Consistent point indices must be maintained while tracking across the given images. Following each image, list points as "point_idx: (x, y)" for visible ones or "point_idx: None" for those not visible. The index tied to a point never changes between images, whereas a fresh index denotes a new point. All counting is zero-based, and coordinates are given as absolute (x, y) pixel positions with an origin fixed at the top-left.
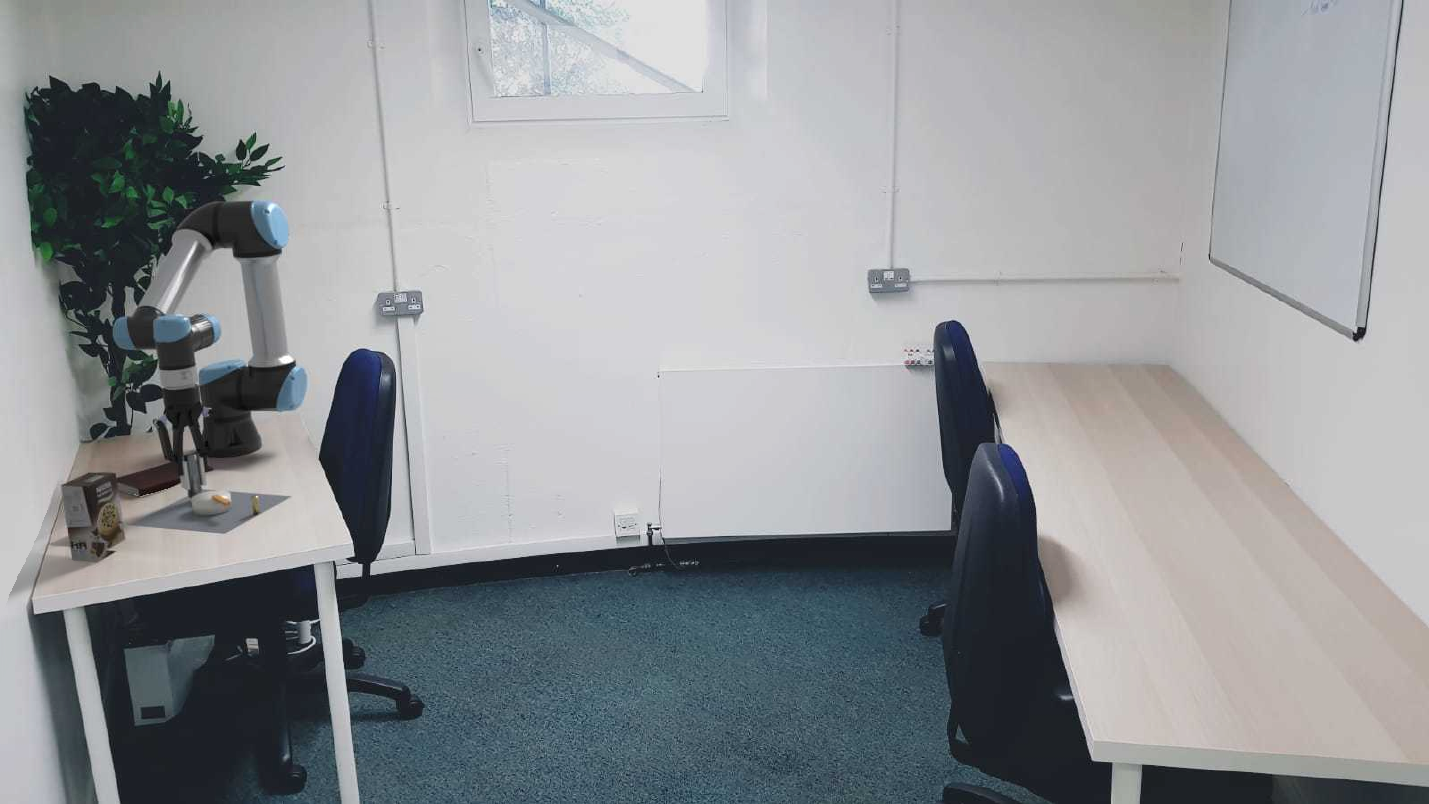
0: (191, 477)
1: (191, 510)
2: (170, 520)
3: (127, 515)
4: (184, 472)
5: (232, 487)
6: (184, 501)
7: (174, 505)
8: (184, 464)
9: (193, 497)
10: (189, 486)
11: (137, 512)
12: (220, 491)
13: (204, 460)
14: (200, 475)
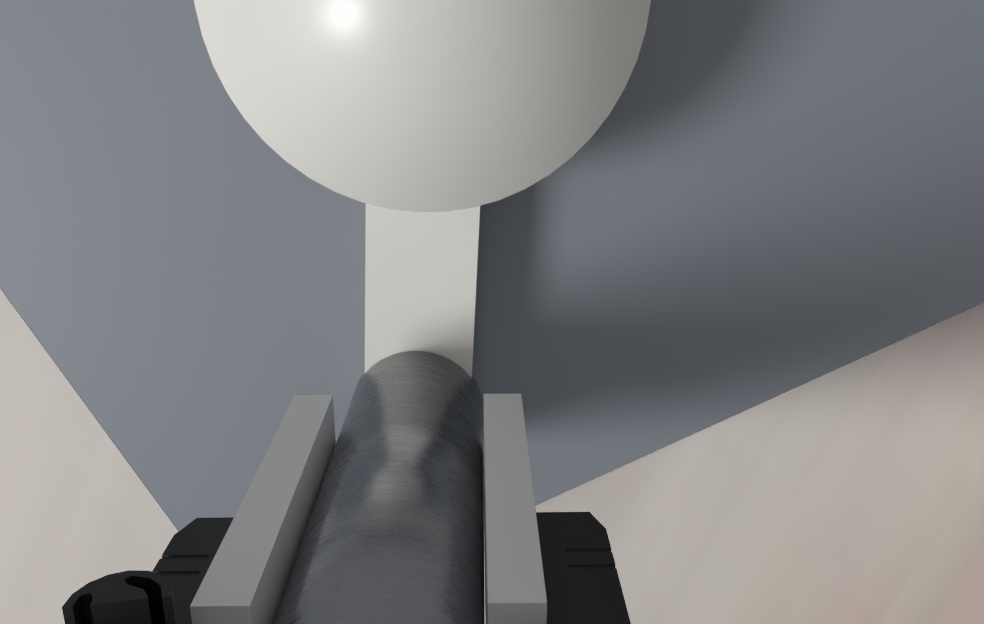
0: (446, 462)
1: (577, 159)
2: (857, 31)
3: (867, 585)
4: (533, 509)
5: (9, 600)
6: None
7: (608, 415)
8: (527, 577)
9: (580, 124)
10: (489, 409)
11: (787, 593)
12: (259, 79)
13: (176, 603)
14: (313, 490)
